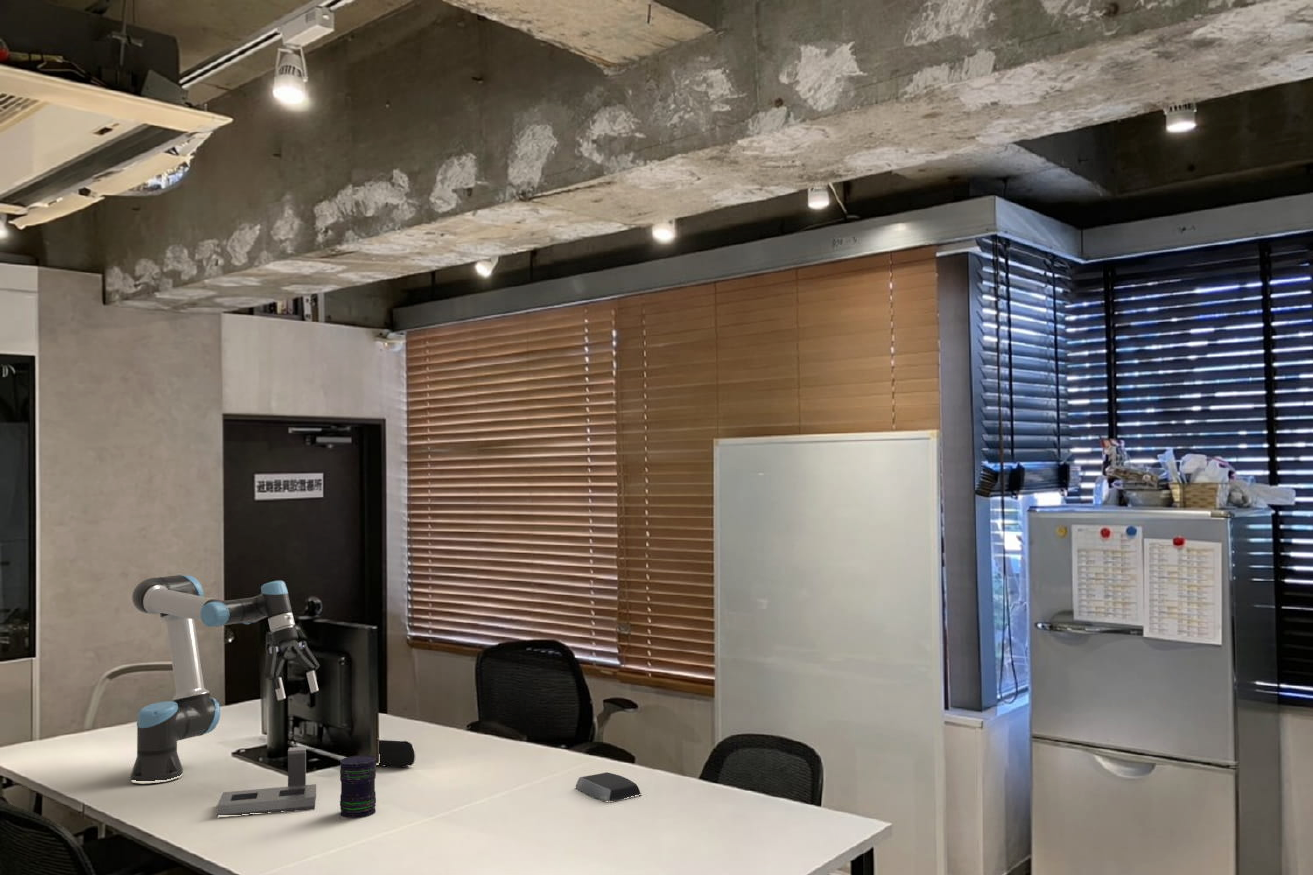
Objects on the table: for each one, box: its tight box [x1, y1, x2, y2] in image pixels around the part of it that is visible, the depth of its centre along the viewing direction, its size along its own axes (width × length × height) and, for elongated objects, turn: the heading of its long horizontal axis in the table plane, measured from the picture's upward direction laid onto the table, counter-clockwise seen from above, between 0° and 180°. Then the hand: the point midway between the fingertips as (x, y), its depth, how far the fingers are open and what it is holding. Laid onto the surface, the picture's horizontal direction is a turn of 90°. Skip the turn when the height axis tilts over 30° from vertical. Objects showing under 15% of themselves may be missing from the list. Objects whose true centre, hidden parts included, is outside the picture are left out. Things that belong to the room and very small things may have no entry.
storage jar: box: [339, 754, 377, 819], centre depth 296 cm, size 10×10×15 cm
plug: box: [287, 745, 307, 787], centre depth 322 cm, size 4×5×12 cm
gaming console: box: [378, 738, 417, 767], centre depth 346 cm, size 19×9×2 cm
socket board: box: [216, 783, 317, 817], centre depth 303 cm, size 14×26×4 cm, turn 106°
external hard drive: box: [575, 771, 642, 802], centre depth 313 cm, size 13×19×4 cm
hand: (298, 695), depth 326 cm, fingers open, 13 cm apart
